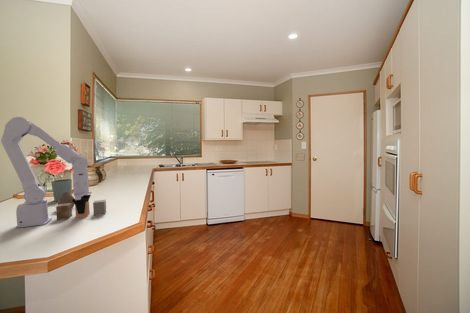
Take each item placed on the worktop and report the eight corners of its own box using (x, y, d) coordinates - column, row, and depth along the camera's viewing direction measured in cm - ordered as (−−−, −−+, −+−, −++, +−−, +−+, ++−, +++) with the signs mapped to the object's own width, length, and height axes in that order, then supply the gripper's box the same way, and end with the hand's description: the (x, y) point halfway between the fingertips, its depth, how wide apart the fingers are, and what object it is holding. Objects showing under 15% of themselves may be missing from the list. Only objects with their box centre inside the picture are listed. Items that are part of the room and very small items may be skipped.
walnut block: (56, 220, 100) (56, 206, 100) (60, 217, 105) (59, 204, 104) (69, 218, 102) (68, 205, 102) (72, 215, 106) (71, 203, 106)
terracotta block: (75, 217, 103) (75, 204, 103) (78, 214, 107) (77, 202, 107) (87, 216, 105) (86, 203, 104) (89, 213, 109) (88, 201, 108)
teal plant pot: (64, 201, 134) (63, 181, 134) (47, 201, 134) (46, 181, 134) (76, 197, 144) (75, 178, 144) (61, 197, 144) (60, 179, 144)
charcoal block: (93, 215, 106) (93, 202, 105) (95, 213, 110) (94, 200, 109) (104, 214, 107) (104, 201, 107) (106, 211, 111) (105, 199, 111)
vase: (55, 210, 116) (54, 193, 115) (69, 206, 122) (68, 190, 122) (64, 211, 113) (63, 194, 113) (78, 207, 120) (77, 191, 119)
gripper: (87, 184, 100) (89, 215, 101) (94, 180, 113) (95, 207, 114) (68, 186, 97) (70, 217, 98) (77, 181, 111) (79, 208, 111)
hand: (82, 212), depth 106 cm, fingers closed on terracotta block, 4 cm apart
